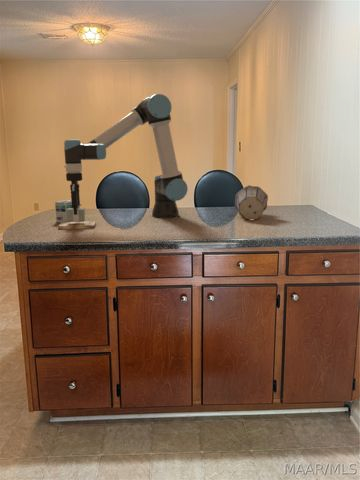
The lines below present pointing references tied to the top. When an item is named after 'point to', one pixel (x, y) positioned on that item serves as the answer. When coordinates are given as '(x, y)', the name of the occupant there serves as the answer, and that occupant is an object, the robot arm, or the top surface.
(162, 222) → the top surface
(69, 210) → the block
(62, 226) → the board
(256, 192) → the faceted geometric planter
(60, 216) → the light bulb box
